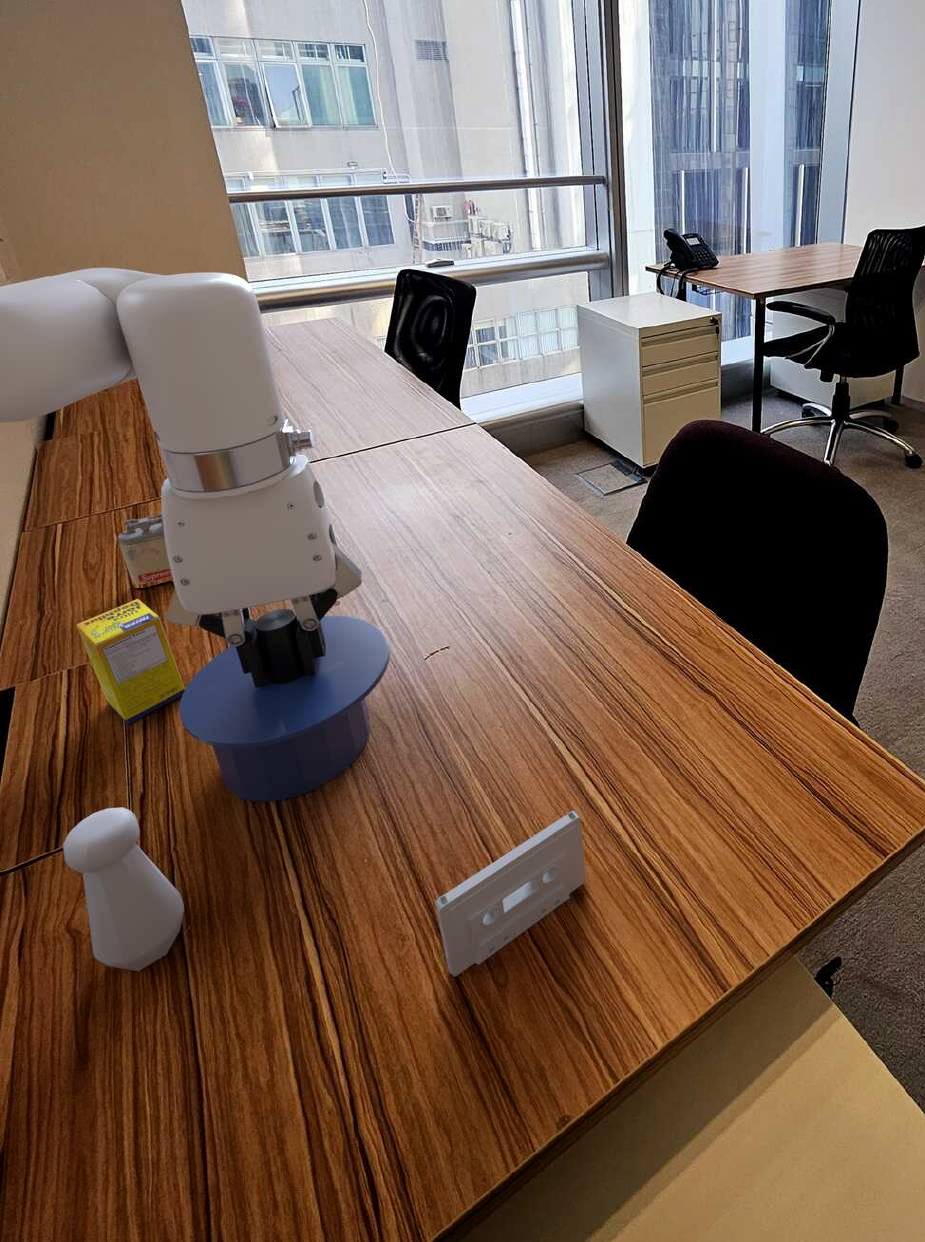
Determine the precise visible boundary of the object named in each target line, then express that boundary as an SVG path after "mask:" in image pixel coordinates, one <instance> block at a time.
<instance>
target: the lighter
mask: <svg viewBox="0 0 925 1242" xmlns="http://www.w3.org/2000/svg"><path fill="white" fill-rule="evenodd" d="M124 524H125V526H126V530H125V531H123V532H122V533H120V534H119V535H118V536H117V539H118V542H119V543H118V544H119V548H120V550H121V553H122V557H123V559H124V562H125V565H126V568H127V570H128V573H129V576H130V579H131V582H132V584H133V583H135V584H146V583H149V582H153V581H158V580H160V579H165V578H169V577H171V576H172V573H171V569H170V564H169V559H168V554H167V549H166V542H165V536H164V528H163V519H162V511H161V512H159V513H158V514H155V515H152V516H146V517H142V518H138V519H135V518H132V519H128V520H125V521H124Z"/></svg>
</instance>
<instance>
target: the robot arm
mask: <svg viewBox="0 0 925 1242" xmlns="http://www.w3.org/2000/svg"><path fill="white" fill-rule="evenodd" d="M276 377H277V376H276V374H275V369H274V365H273V361H272V355H271V352H270V348H269V344H268V339H267V335H266V331H265V327H264V322H263V318H262V314H261V309H260V305H259V302H258V299H257V296H256V293H255V290H254V289H253V287H252V286H251V285H250V284H249V283H248V282H247V281H246V280H245V279H244V278H241V277H240V276H237V275H234V274H230V273H226V272H209V271H208V272H186V273H175V274H167V275H163V274H157V273H150V272H145V271H138V270H132V269H125V268H116V267H92V268H91V267H90V268H85V269H83V268H82V269H79V270H73V271H69V272H65V273H60V274H55V275H49V276H47V275H46V276H43V277H38V278H33V279H29V280H25V281H21V282H16V283H11V284H7V285H1V286H0V424H3V423H17V422H18V423H19V422H26V421H29V420H34V419H38V418H41V417H43V416H46V415H48V414H51V413H54V412H56V411H58V410H60V409H63V408H65V407H68V406H70V405H72V404H74V403H77V402H78V401H82V400H83V399H86V398H88V397H90V396H93V395H94V394H98V393H99V392H102V391H104V390H106V389H110V388H113V387H116V386H118V385H121V384H124V383H126V382H130V381H132V380H136V379H137V382H138V385H139V388H140V391H141V395H142V398H143V401H144V404H145V407H146V410H147V414H148V417H149V421H150V423H151V427H152V430H153V434H154V437H155V439H156V443H157V446H158V450H159V452H160V456H161V459H162V463H163V466H164V469H165V472H166V475H167V478H165V480H164V481H163V484H162V486H161V488H160V498H161V499H160V503H161V504H160V507H161V512H162V519H163V528H164V536H165V542H166V549H167V554H168V559H169V564H170V569H171V573H172V578H173V581H172V582H173V584H174V590H173V592H172V596H171V599H170V602H169V605H168V607H167V610H166V613H165V620H166V621H167V622H168V623H171V624H174V625H175V624H176V625H182V626H189V627H200V628H201V630H204V631H207V632H209V633H211V634H214V635H215V636H218V637H221V638H223V639H225V642H226V643H227V645H228V646H229V647H231V646H236V650H237V653H238V656H239V660H240V663H241V666H242V669H243V672H244V674H247V673H251V675H252V678H253V682H254V685H255V687H256V688H257V687H262V686H264V684H266V683H267V680H268V676H269V675H268V672H267V668H266V665H265V661H264V658H263V654H262V651H261V647H260V643H259V640H258V636H257V633H256V629H255V622H256V621H257V620H254V619H252V613H251V608H253V607H259V606H264V605H269V604H274V603H279V602H284V601H289V600H290V601H291V604H292V607H293V609H294V611H295V613H296V616H297V620H298V627H297V632H296V640H297V644H298V647H299V651H300V655H301V659H302V663H303V666H304V670H305V674H306V675H307V674H308V675H309V676H310V675H315V674H317V668H318V661H319V657H324V656H325V655H326V643H325V638H324V634H323V630H322V626H321V622H320V620H321V619H322V618H323V617H324V616H327V613H328V612H329V611H330V610H331V609H332V608H333V607H334V605H335V604H336V603H337V602H338V600H339V599H341V598H344V597H345V596H347V595H348V594H350V593H351V592H353V591H355V590H356V589H358V588H359V587H361V585H362V583H363V571H362V570H361V569H360V567H358V566H357V565H356V564H355V563H354V561H353V560H351V559H350V557H348V556H347V555H346V554H345V553H344V551H342V550H341V549H340V546H339V540H338V537H337V533H336V529H335V526H334V523H333V520H332V517H331V512H330V509H329V507H328V503H327V501H326V498H325V494H324V492H323V489H322V487H321V484H320V481H319V479H318V476H317V475H316V472H315V470H314V469H313V466H312V464H311V462H310V461H309V459H308V457H307V456H306V455H303V454H298V453H301V452H303V451H304V450H309V449H314V448H315V440H314V435H313V431H312V429H307V430H300V429H294V427H293V426H292V425H291V426H290V422H289V419H286V416H285V411H284V407H283V404H282V400H281V395H280V391H279V387H278V382H277V378H276Z"/></svg>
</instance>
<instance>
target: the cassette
mask: <svg viewBox="0 0 925 1242" xmlns="http://www.w3.org/2000/svg"><path fill="white" fill-rule="evenodd" d="M583 841H584V840H583V830H582V820H581V818H580V816H579V815H578V814H577V812H576V811H574V810H571V811H570V812H568V813H567V814H565V815H564V816H562V817H561V818H559V819H557V820H556V821H555V822H553V823H551V824H550V825H549V826H547V827H545V828H544V829H543V830H541V831H539V832H538V833H536V834H534V835H533V836H532V837H529V838H528V839H527V840H525V841H524V842H522V843H521V844H519V845H518V846H516V847H515V848H513V849H512V850H510V851H508V852H507V853H506V854H504V855H502V856H500V857H499V858H498V859H496V860H495V861H494V862H493V861H492V863H490V864H488V865H487V866H486V867H484V868H483V869H481V870H480V871H478V872H477V873H475V874H473V875H472V876H470V877H468V879H466V880H465V881H462V882H461V883H459V884H457V886H455V887H454V888H452V889H451V890H448V891H447V892H446V893H444V894H443V895H440V896H439V897H438V898H437V899H436V900H435V903H434V905H435V911H436V916H437V920H438V926H439V929H440V935H441V939H442V944H443V950H444V954H445V961H446V965H447V970H448V972H449V974H451V975H452V977H457V976H459V975H460V974H461V973H463V972H464V971H465V970H467V969H468V968H470V967H471V966H472V965H475V964H476V965H478V966H479V965H480V964H482V963H484V962H485V961H486V960H487V959H489V958H490V957H492V955H494V954H495V953H497V952H498V951H500V950H501V949H502V948H503V947H505V946H507V945H508V944H509V943H511V942H512V941H513V940H515V939H516V938H517V937H518V936H520V935H521V934H523V933H524V932H525V931H527V930H528V929H530V928H531V927H532V926H534V925H535V924H536V923H537V922H539V921H540V920H542V919H543V918H544V917H546V916H547V915H549V914H550V913H551V912H552V911H554V910H555V909H557V908H558V907H559V906H561V905H562V904H564V903H565V902H566V901H568V900H569V899H570V898H571V896H570V894H571V893H573V892H574V891H575V890H576V889H578V888H579V887H580V886H582V885H583V884H584V883H585V882H586V880H587V873H586V864H585V863H586V861H585V852H584V842H583Z"/></svg>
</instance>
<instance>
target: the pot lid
mask: <svg viewBox="0 0 925 1242" xmlns="http://www.w3.org/2000/svg"><path fill="white" fill-rule="evenodd" d="M255 621H256V622H255V629H256V633H257V636H258V640H259V643H260V647H261V651H262V654H263V658H264V661H265V665H266V668H267V672H268V675H269V676H268V680H267V683H266V684H264V686H262V687H257V688H256V687H255V685H254V682H253V678H252V675H251V673H247V674H244V672H243V669H242V666H241V663H240V660H239V656H238V653H237V650H236V646H229V647H227V648H226V649H224V650H223V651H221V652H220V653H218V654H217V655H216V656H214V657H213V658H212V659H211V660H210V661H208V662H207V663H206V664H205V665H204V666H203V667H202V668H201V669H199V670H198V672H197V673H196V674H195V675H194V676H193V678H191V681H190V682H189V683H188V684H187V686H186V688H185V691H184V694H183V696H181V699H180V702H179V716H180V721H181V724H182V726H183V728H184V730H185V731H186V732H187V733H188V734H189V735H190V736H191V737H192V738H194V739H195V740H197V741H198V742H200V743H202V744H205V745H208V746H211V747H212V746H216V747H221V748H234V749H235V748H253V747H261V746H266V745H271V744H276V743H280V742H283V741H287V740H290V739H294V738H296V737H299V736H302V735H304V734H307V733H310V732H312V731H314V730H316V729H318V728H321V727H323V726H325V725H327V724H328V723H330V722H332V721H334V720H336V719H337V718H339V717H340V716H342V715H344V714H345V713H347V712H348V711H350V710H351V709H352V708H353V707H355V706H356V705H357V704H359V703H360V702H361V701H362V700H363V699H364V698H365V699H366V698H367V697H368V696H369V695H370V694H371V693H372V691H373V690H375V688H376V687H377V686H378V685H379V683H380V682H381V680H382V679H383V677H384V675H385V673H386V671H387V668H388V665H389V663H390V658H391V657H390V655H391V653H390V652H391V651H390V645H389V642H388V638H387V637H386V635H385V633H384V632H383V630H381V629H380V628H379V627H378V626H376V625H374V624H373V623H372V622H369V621H368V620H364V619H360V618H357V617H352V616H348V615H347V616H346V615H325V616H324V617H323V618H322V619H321V620H320V622H321V626H322V630H323V634H324V638H325V643H326V655H325V656H324V657H319V661H318V668H317V674H315V675H310V676H309V675H308V674H307V675H306V674H305V670H304V666H303V663H302V659H301V655H300V651H299V647H298V644H297V640H296V632H297V627H298V617H297V614H296V612H295V610H293V609H291V608H278V609H274V610H271V611H268V612H266V613H264V614H263V615H261V616H260V617H259V618H257V619H256V620H255Z"/></svg>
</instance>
